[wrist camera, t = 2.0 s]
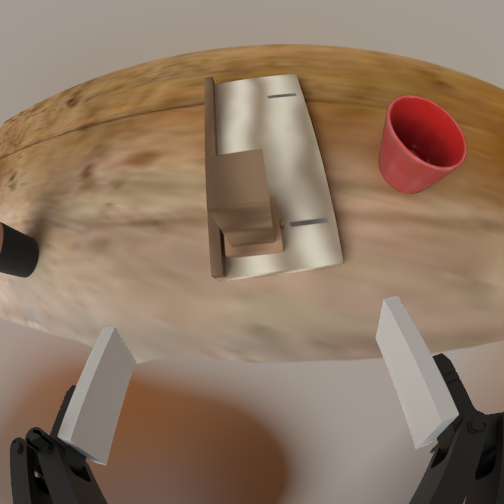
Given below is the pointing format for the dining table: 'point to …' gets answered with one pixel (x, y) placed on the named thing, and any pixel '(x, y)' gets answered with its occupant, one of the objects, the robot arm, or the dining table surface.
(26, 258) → the travel mug
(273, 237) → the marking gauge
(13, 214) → the dining table surface
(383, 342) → the robot arm
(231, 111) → the birch board
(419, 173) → the flower pot
